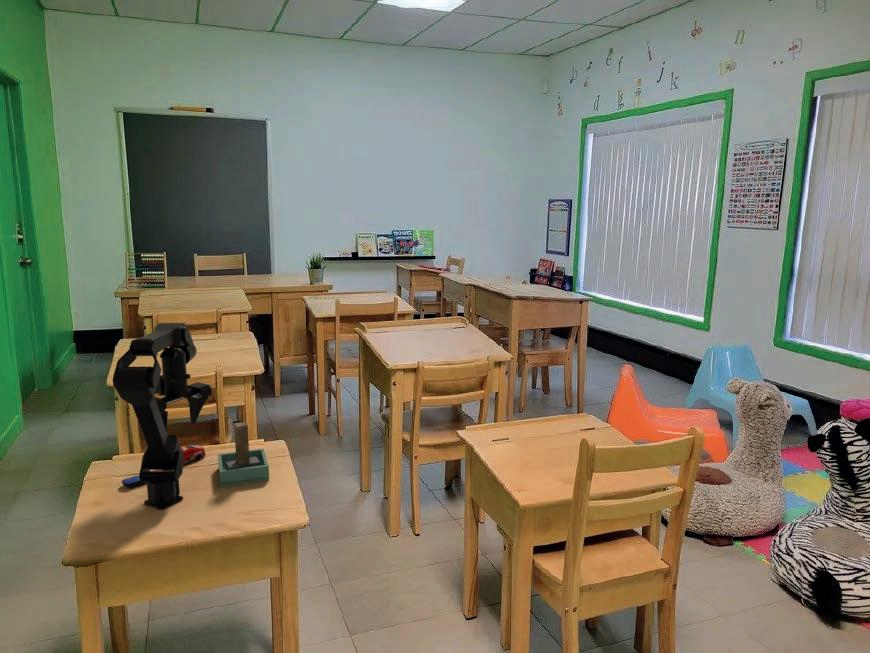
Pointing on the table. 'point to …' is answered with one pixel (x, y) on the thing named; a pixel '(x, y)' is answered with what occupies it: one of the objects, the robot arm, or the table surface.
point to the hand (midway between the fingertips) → (178, 429)
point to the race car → (191, 454)
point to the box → (243, 469)
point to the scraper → (242, 449)
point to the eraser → (134, 481)
